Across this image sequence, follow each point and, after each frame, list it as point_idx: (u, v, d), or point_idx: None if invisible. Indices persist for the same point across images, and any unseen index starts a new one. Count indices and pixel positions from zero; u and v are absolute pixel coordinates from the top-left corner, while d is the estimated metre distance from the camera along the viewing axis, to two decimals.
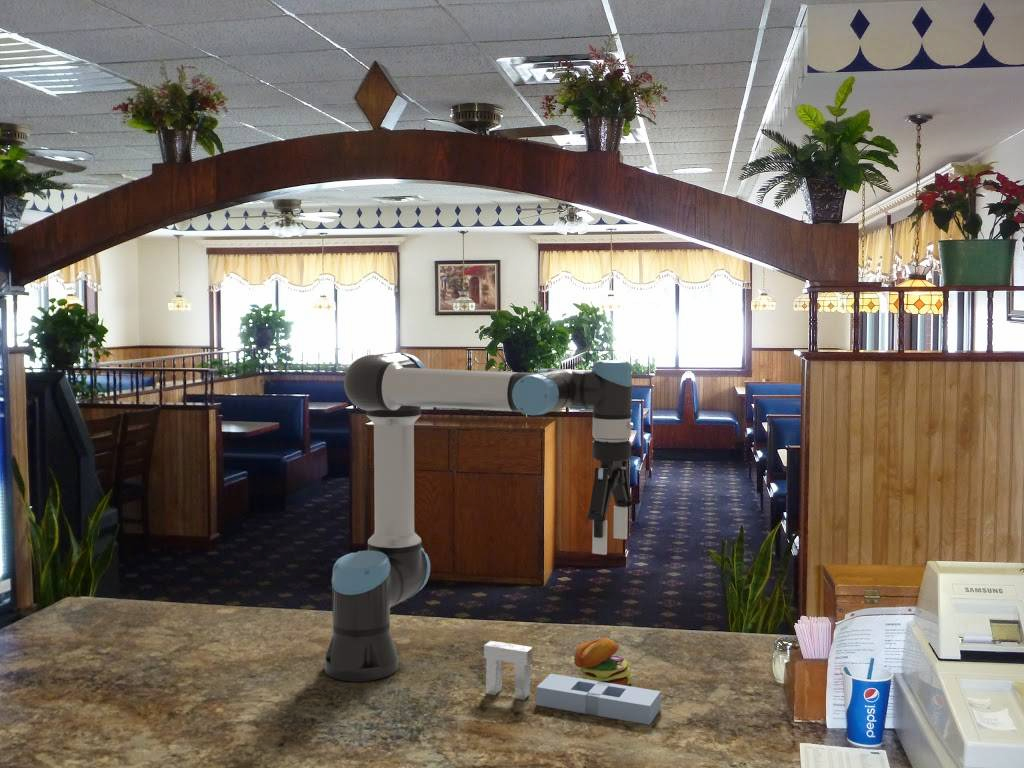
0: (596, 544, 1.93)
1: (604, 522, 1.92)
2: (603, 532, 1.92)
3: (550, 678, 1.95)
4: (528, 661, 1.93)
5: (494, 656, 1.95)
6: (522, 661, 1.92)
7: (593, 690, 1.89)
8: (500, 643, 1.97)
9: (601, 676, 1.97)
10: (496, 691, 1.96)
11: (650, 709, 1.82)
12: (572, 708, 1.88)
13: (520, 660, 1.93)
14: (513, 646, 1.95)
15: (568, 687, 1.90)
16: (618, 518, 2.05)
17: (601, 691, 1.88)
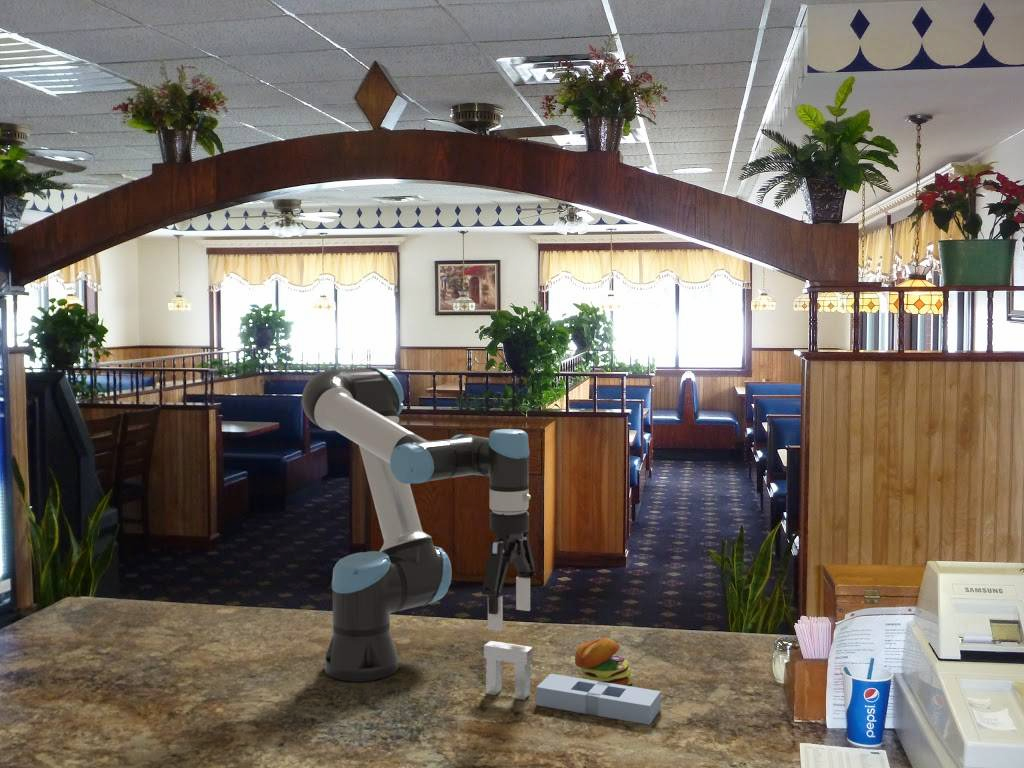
0: (491, 620, 1.88)
1: (499, 598, 1.87)
2: (498, 608, 1.87)
3: (550, 678, 1.95)
4: (528, 661, 1.93)
5: (494, 656, 1.95)
6: (522, 661, 1.92)
7: (593, 690, 1.89)
8: (500, 643, 1.97)
9: (602, 676, 1.97)
10: (496, 691, 1.96)
11: (650, 709, 1.82)
12: (572, 708, 1.88)
13: (520, 660, 1.93)
14: (513, 646, 1.95)
15: (568, 687, 1.90)
16: (520, 589, 2.00)
17: (601, 691, 1.88)
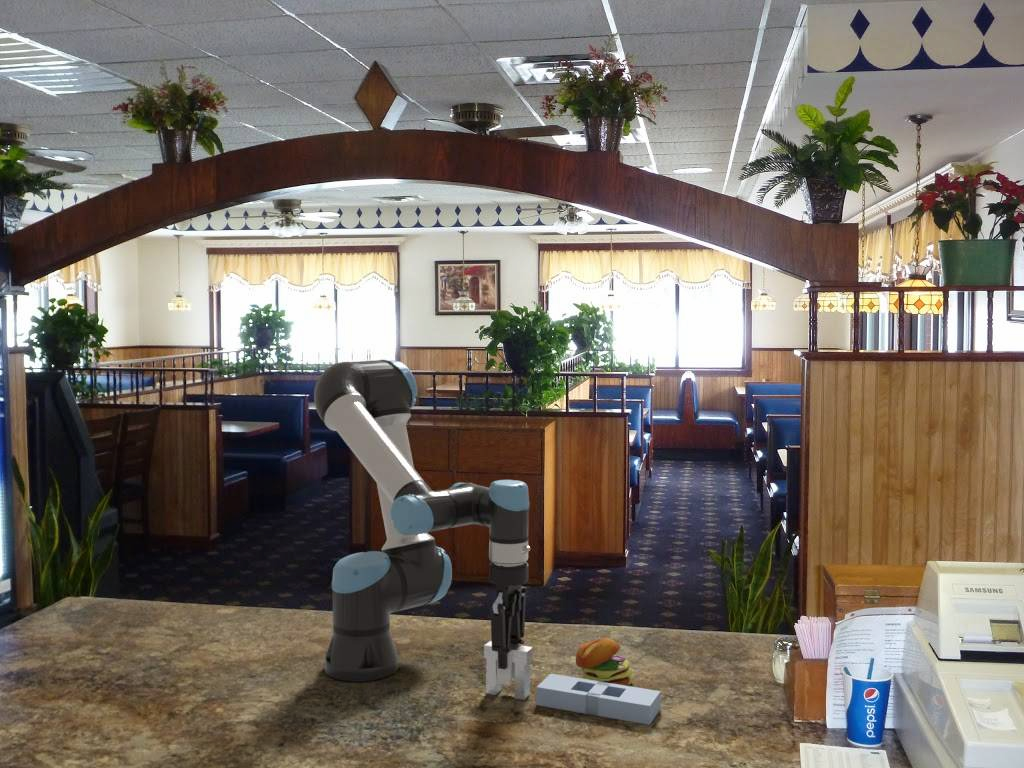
0: (501, 674, 1.94)
1: (508, 653, 1.93)
2: (507, 663, 1.93)
3: (550, 678, 1.95)
4: (528, 661, 1.93)
5: (494, 656, 1.95)
6: (522, 661, 1.92)
7: (593, 690, 1.89)
8: None
9: (602, 676, 1.97)
10: (496, 691, 1.96)
11: (650, 709, 1.82)
12: (572, 708, 1.88)
13: (520, 660, 1.93)
14: (513, 646, 1.95)
15: (568, 687, 1.90)
16: None
17: (601, 691, 1.88)
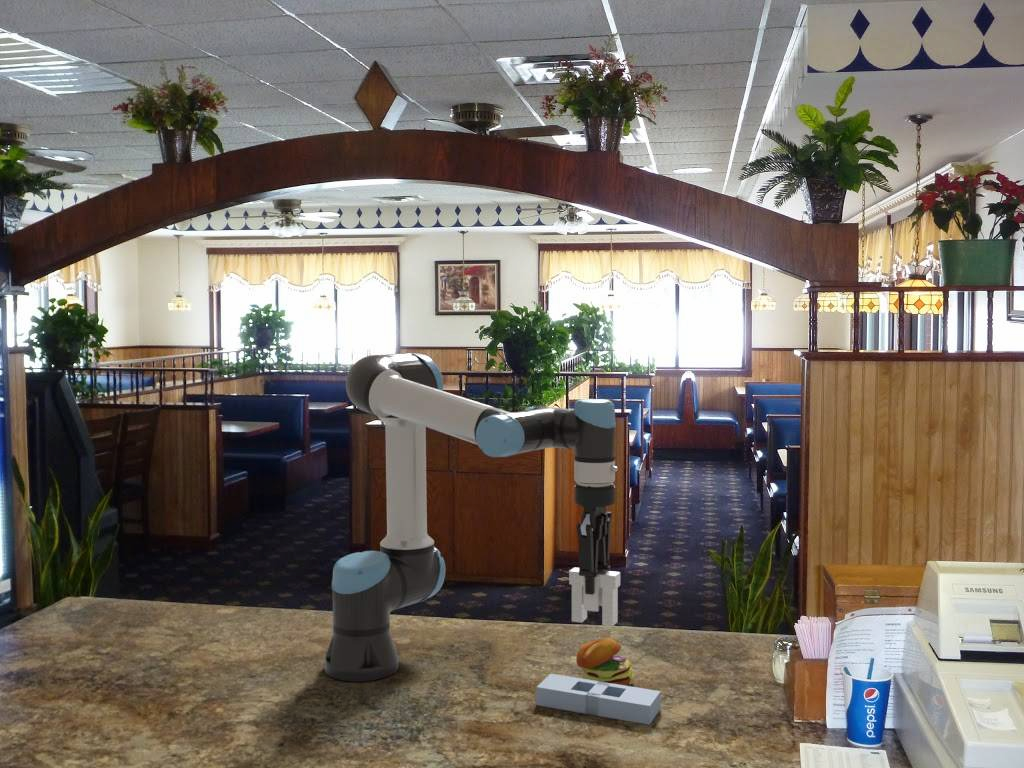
0: (588, 600, 1.86)
1: (596, 578, 1.85)
2: (595, 588, 1.85)
3: (550, 678, 1.95)
4: (616, 586, 1.85)
5: (580, 582, 1.87)
6: (610, 586, 1.85)
7: (593, 690, 1.89)
8: None
9: (603, 676, 1.97)
10: (582, 619, 1.88)
11: (650, 709, 1.82)
12: (572, 708, 1.88)
13: (608, 585, 1.85)
14: (600, 572, 1.87)
15: (568, 687, 1.90)
16: None
17: (601, 691, 1.88)
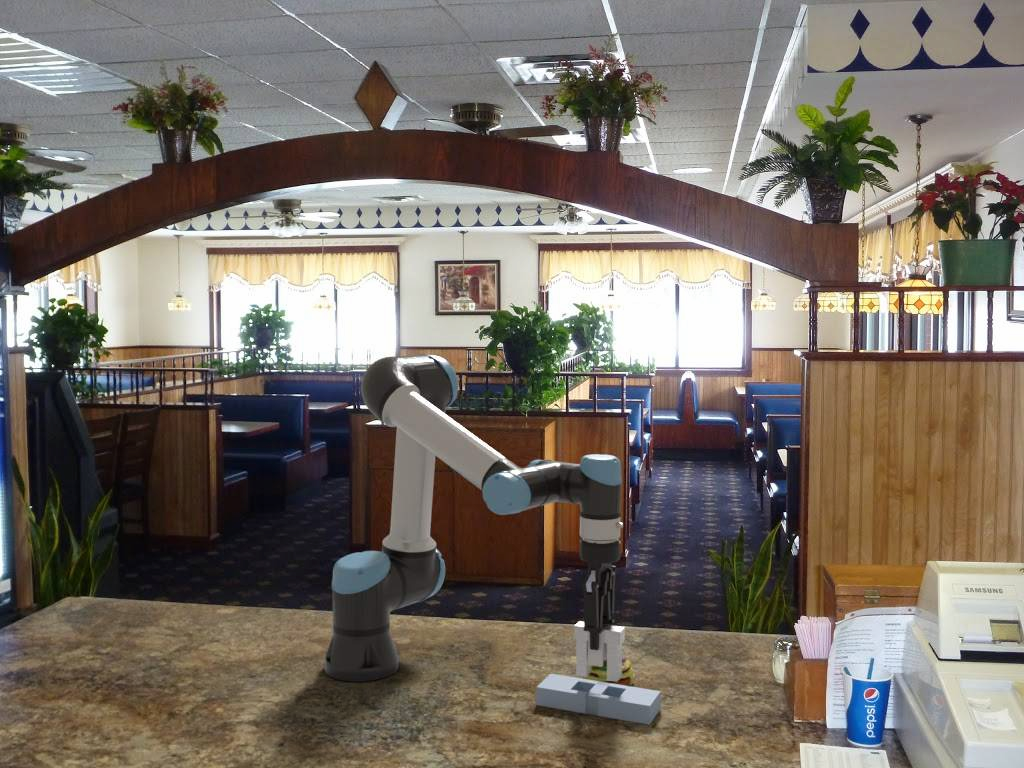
0: (592, 656, 1.87)
1: (600, 633, 1.86)
2: (599, 644, 1.86)
3: (550, 678, 1.95)
4: (621, 641, 1.86)
5: (585, 637, 1.88)
6: (615, 641, 1.86)
7: (593, 690, 1.89)
8: None
9: (604, 676, 1.97)
10: (587, 673, 1.89)
11: (650, 709, 1.82)
12: (572, 708, 1.88)
13: (613, 640, 1.86)
14: (605, 627, 1.88)
15: (568, 687, 1.90)
16: None
17: (601, 691, 1.88)
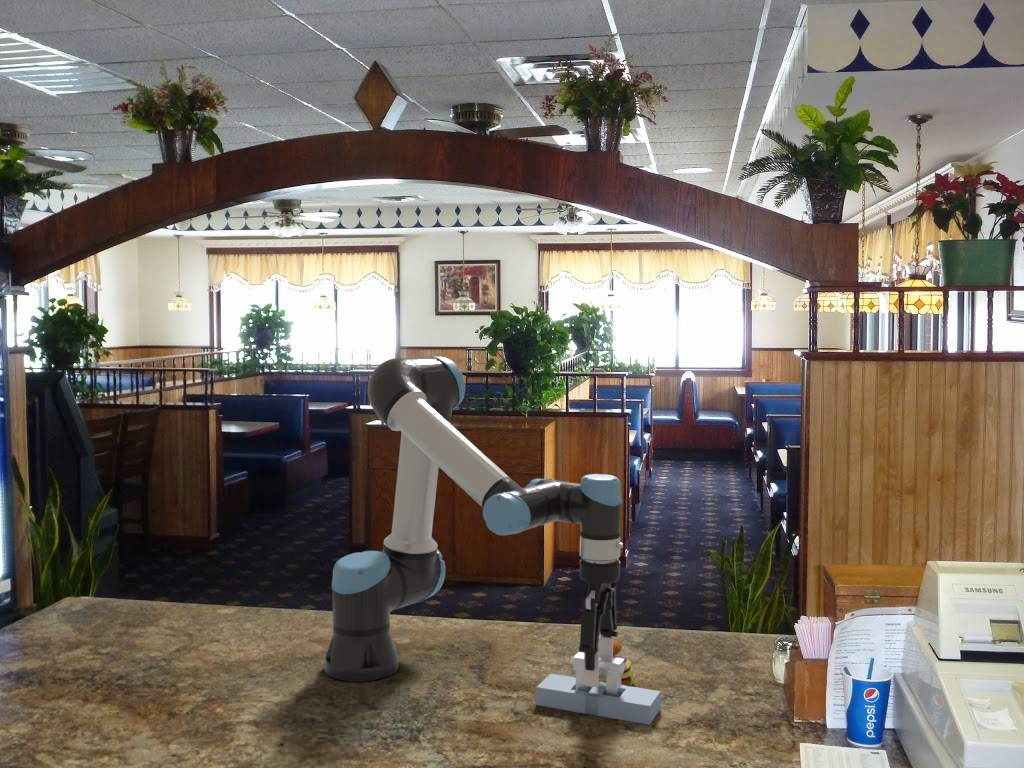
0: (588, 676, 1.85)
1: (596, 654, 1.84)
2: (595, 664, 1.84)
3: (550, 678, 1.95)
4: (620, 673, 1.87)
5: None
6: (614, 673, 1.86)
7: (593, 690, 1.89)
8: None
9: (604, 676, 1.97)
10: None
11: (650, 709, 1.82)
12: (572, 708, 1.88)
13: (612, 672, 1.86)
14: (604, 658, 1.89)
15: (568, 687, 1.90)
16: (603, 649, 1.92)
17: (601, 691, 1.88)
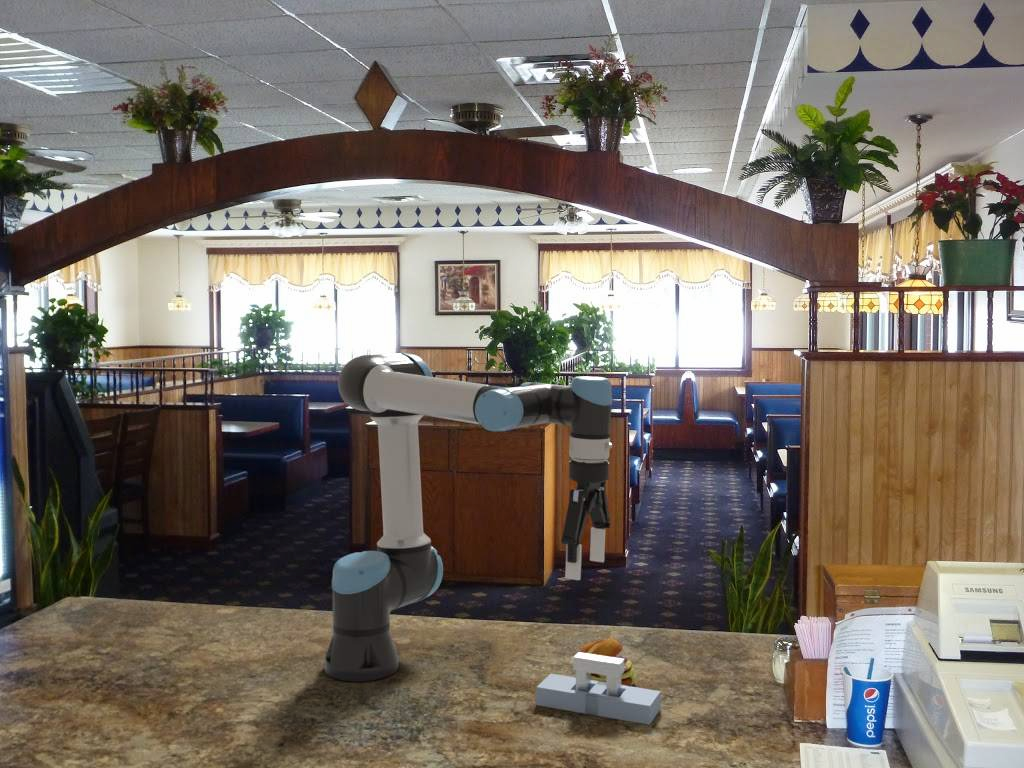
0: (569, 569, 1.85)
1: (578, 546, 1.84)
2: (577, 557, 1.84)
3: (550, 678, 1.95)
4: (620, 673, 1.87)
5: (584, 668, 1.89)
6: (614, 673, 1.86)
7: (593, 690, 1.89)
8: (589, 655, 1.90)
9: (605, 676, 1.97)
10: None
11: (650, 709, 1.82)
12: (572, 708, 1.88)
13: (612, 672, 1.86)
14: (604, 658, 1.89)
15: (568, 687, 1.90)
16: (595, 540, 1.97)
17: (601, 691, 1.88)
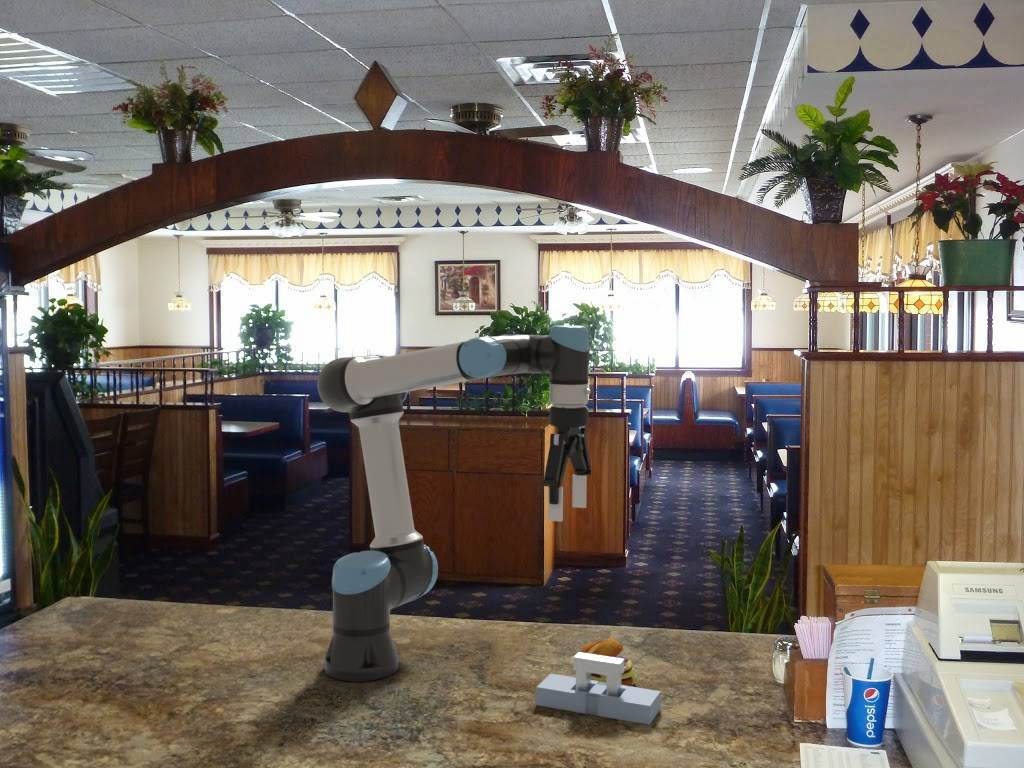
0: (552, 511, 1.90)
1: (560, 488, 1.89)
2: (559, 499, 1.89)
3: (550, 678, 1.95)
4: (620, 673, 1.87)
5: (584, 668, 1.89)
6: (614, 673, 1.86)
7: (593, 690, 1.89)
8: (589, 655, 1.90)
9: None
10: None
11: (650, 709, 1.82)
12: (572, 708, 1.88)
13: (612, 672, 1.86)
14: (604, 658, 1.89)
15: (568, 687, 1.90)
16: (577, 487, 2.02)
17: (601, 691, 1.88)
